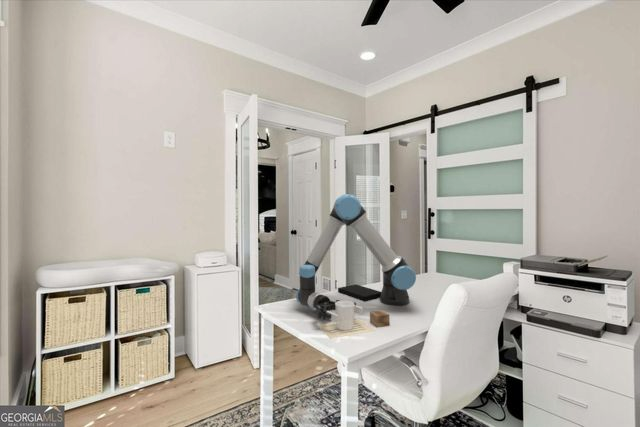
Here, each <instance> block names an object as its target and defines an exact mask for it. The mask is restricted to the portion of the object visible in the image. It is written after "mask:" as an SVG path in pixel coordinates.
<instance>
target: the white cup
mask: <svg viewBox="0 0 640 427" xmlns="http://www.w3.org/2000/svg"><path fill="white" fill-rule="evenodd" d="M335 302H336V301H335ZM353 302H354V301H350V300H340V301H338V302H336V303H335V309H336V310H335V314H336V315H338V322H337V328H338V329H340V330H351V329H353V321H354V319H355V312H354V303H355V302H354V303H353Z"/></svg>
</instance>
